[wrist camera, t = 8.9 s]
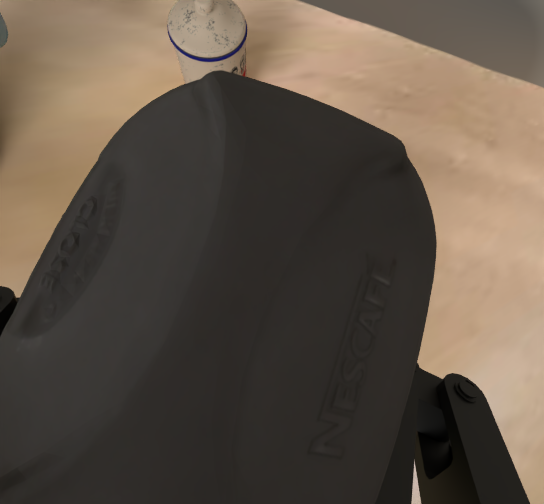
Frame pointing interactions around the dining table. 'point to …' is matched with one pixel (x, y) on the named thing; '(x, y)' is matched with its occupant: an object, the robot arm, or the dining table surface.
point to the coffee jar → (222, 310)
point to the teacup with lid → (208, 37)
